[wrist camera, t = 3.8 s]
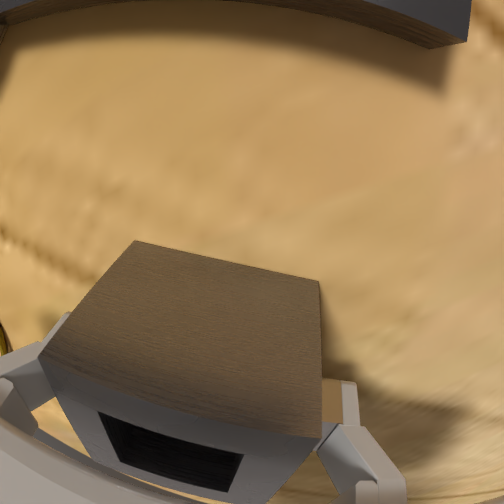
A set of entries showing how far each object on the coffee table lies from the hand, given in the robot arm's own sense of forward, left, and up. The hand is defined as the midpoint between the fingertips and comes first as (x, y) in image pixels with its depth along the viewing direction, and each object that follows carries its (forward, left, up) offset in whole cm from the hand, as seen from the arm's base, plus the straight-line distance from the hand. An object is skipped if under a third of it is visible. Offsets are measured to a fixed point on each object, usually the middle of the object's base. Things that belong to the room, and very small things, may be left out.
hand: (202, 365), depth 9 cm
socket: (0, 0, -2) cm, 2 cm away
